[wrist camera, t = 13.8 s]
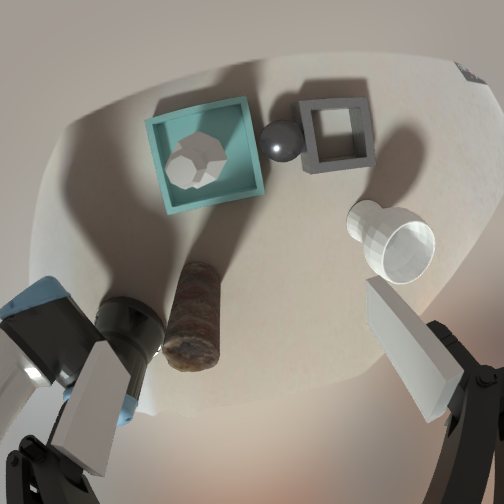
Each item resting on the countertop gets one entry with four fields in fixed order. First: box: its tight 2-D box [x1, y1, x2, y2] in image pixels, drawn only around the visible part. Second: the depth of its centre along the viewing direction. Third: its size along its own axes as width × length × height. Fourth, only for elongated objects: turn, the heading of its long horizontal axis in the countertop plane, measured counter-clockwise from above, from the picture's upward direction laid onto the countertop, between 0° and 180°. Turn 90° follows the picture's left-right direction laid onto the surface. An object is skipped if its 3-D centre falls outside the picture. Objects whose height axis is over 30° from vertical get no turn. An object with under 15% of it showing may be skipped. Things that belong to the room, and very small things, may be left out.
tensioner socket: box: [260, 97, 376, 174], centre depth 38 cm, size 18×11×6 cm, turn 100°
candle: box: [162, 263, 221, 372], centre depth 40 cm, size 8×7×20 cm
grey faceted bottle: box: [164, 131, 227, 190], centre depth 30 cm, size 6×6×22 cm
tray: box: [145, 96, 265, 215], centre depth 39 cm, size 15×15×4 cm
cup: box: [347, 200, 435, 284], centre depth 40 cm, size 11×11×15 cm
